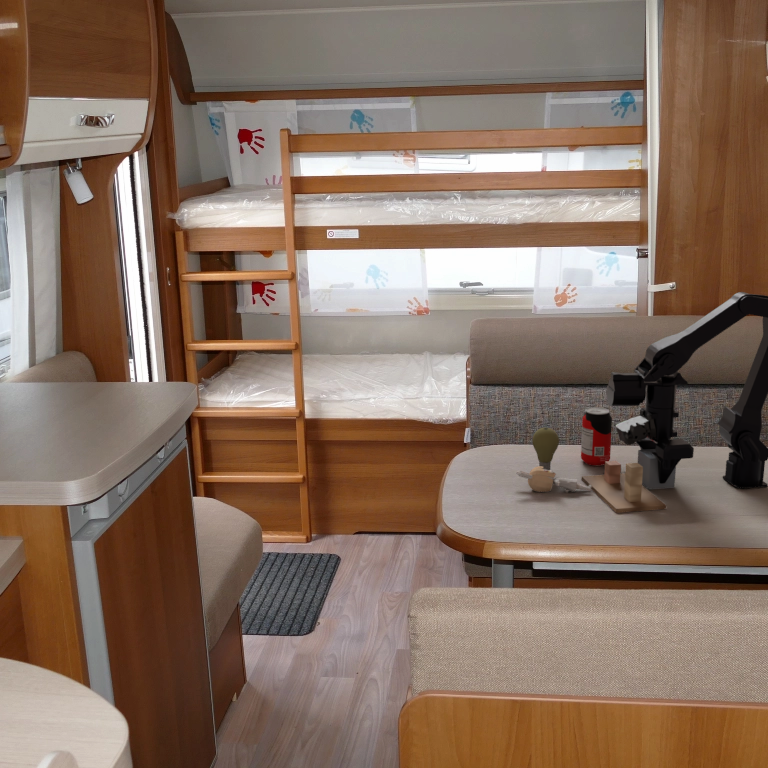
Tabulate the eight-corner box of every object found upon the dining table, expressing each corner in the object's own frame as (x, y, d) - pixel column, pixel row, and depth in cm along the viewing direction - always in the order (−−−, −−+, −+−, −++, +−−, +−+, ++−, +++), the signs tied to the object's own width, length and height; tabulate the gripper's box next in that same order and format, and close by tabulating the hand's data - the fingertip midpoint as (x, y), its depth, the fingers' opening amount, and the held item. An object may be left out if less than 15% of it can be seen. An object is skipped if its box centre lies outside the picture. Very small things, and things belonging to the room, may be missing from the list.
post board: (626, 476, 179) (628, 441, 177) (665, 509, 162) (668, 470, 160) (581, 479, 178) (582, 444, 176) (616, 512, 160) (618, 474, 158)
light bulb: (557, 477, 179) (559, 432, 177) (531, 476, 180) (532, 431, 178) (557, 468, 185) (559, 424, 182) (532, 467, 186) (533, 423, 183)
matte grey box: (661, 478, 178) (663, 448, 176) (674, 487, 172) (676, 456, 171) (636, 479, 177) (638, 450, 175) (648, 489, 171) (650, 458, 170)
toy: (597, 480, 166) (521, 463, 167) (591, 506, 166) (515, 489, 167) (588, 475, 176) (517, 459, 177) (583, 499, 176) (512, 483, 177)
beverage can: (613, 466, 185) (615, 414, 182) (584, 467, 185) (586, 414, 182) (606, 457, 191) (608, 406, 188) (578, 457, 191) (580, 406, 188)
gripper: (604, 395, 178) (600, 465, 182) (642, 420, 160) (637, 497, 164) (654, 393, 180) (649, 462, 184) (697, 417, 162) (691, 493, 166)
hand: (655, 478), depth 174 cm, fingers closed on matte grey box, 6 cm apart
